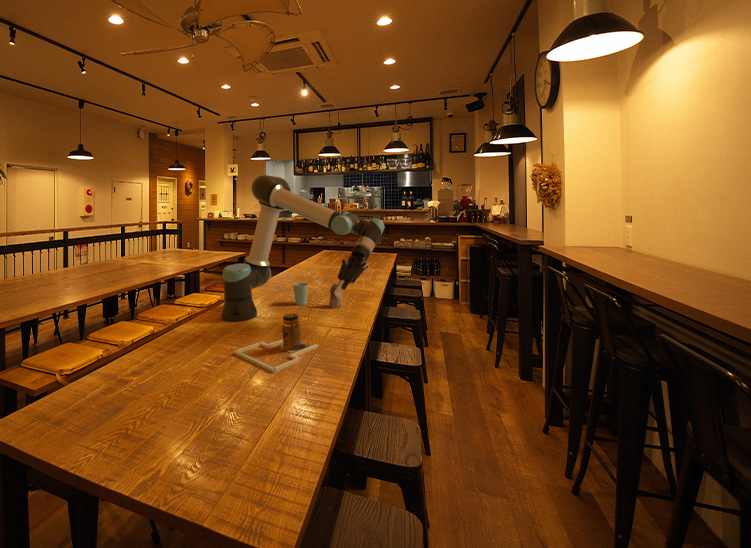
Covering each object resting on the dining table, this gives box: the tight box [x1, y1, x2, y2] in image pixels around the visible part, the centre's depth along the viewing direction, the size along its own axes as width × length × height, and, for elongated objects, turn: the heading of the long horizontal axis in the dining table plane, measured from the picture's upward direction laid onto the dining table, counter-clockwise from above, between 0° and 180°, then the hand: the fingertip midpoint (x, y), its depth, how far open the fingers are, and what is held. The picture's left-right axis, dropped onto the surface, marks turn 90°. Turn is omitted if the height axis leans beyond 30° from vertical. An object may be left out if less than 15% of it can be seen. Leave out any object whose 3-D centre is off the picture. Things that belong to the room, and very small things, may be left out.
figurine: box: [328, 282, 344, 309], centre depth 177 cm, size 7×7×12 cm
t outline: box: [233, 338, 319, 374], centre depth 121 cm, size 22×22×1 cm
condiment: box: [278, 313, 310, 354], centre depth 125 cm, size 7×8×12 cm
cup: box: [292, 282, 309, 306], centre depth 181 cm, size 8×8×10 cm
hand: (336, 295), depth 139 cm, fingers closed
